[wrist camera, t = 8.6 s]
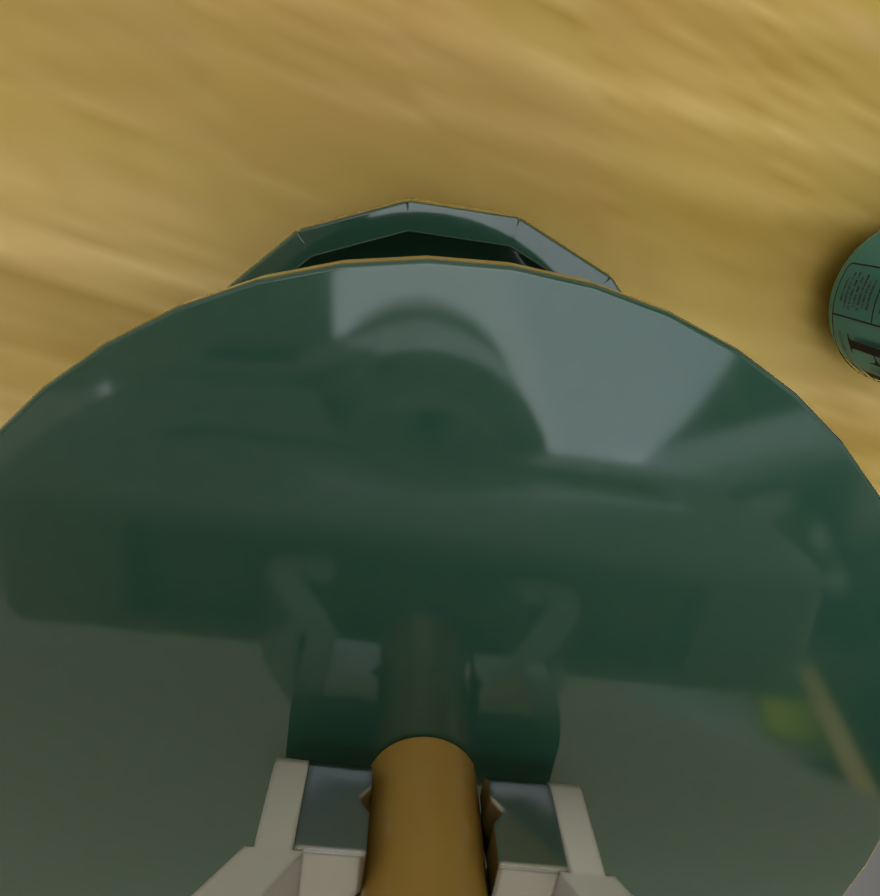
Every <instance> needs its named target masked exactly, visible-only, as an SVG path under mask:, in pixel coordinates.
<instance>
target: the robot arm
mask: <svg viewBox="0 0 880 896" xmlns="http://www.w3.org/2000/svg"><path fill="white" fill-rule="evenodd" d="M372 772H373V767H364V766H356V765H347V764H339V763H331V762H322V761H314V760H311V761H306V760H298V759H290V758H282V757H278V758H277V760H276V762H275V764H274V767H273V771H272V775H271V779H270V783H269V787H268V791H267V795H266V799H265V803H264V807H263V811H262V815H261V819H260V823H259V827H258V831H257V835H256V839H255V843H254V847H247V846H243V847H242V848H241V849H240V850H239V851H238V852H237V853H236V854H235V855H234V856H233V857H232V858H231V859H230V860H229V861H228V862H226V863H225V864H224V865H223V866H222V867H221V868H220V869H219V870H218V871H217V872H216V873H215V874H214V875H213V876H212V877H210V878H209V879H208V880H207V881H206V882H205V883H204V884H203V885H202V886H201V887H200V888H199V889H198V890H197V891H196V892H194V893H193V894H192V895H191V896H357V895H358V893H359V892H360V891H361V887H362V880H363V873H364V865H365V858H366V849H367V837H368V826H369V814H370V813H369V812H368V809H369V802H370V795H371V787H372ZM480 805H481V821H482V831H483V841H484V850H485V860H486V870H487V880H488V889H489V896H633V895H632V894H631V893H630V892H629V891H628V890H627V889H626V888H625V887H624V886H623V885H622V883H621V882H620V881H619V880H618V879H617V878H616V877H612V876H606V875H605V871H604V867H603V864H602V860H601V857H600V853H599V850H598V846H597V843H596V839H595V836H594V832H593V829H592V825H591V821H590V818H589V814H588V811H587V807H586V804H585V800H584V797H583V793H582V790H581V789H580V787H579V786H578V785H575V784H562V783H549V782H547V783H545V782H535V781H523V780H511V779H499V778H486V777H485V780H484V782H483V784H482V788H481V793H480Z"/></svg>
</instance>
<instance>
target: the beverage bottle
mask: <svg viewBox="0 0 880 896" xmlns="http://www.w3.org/2000/svg"><path fill="white" fill-rule="evenodd" d="M829 325H830V330H831V333H832V337H833V339H834V341H835V343H836V345H837V347H838V349H839V351H841V352H840V353H842V354H843V355H844V356H845V357H846V358H847V359H848V360H849V361H850V362H851V363H852V364H853V365H854V366H855V367H856V368H857V369H858V368H859V369H861V370H862V371H864V372H866V373H867V374H868V375H870V376H871V377H872V378H873V379H874V378H876V379H878V380H880V231H878V232H877V233H875V234H874V235H872V236H871V237H869V238H868V239H867V240H866V241H864V242H863V243H862V244H861V245H860V246H859V247H858V248H857V249H856V250H855V251H854V252H853V253H852V254H851V255H850V257H849V258H848V259H847V261H846V262H845V264H844V265H843V267H842V268H841V270H840V272H839V274H838V276H837V278H836V280H835V283H834V286H833V289H832V292H831V296H830V301H829ZM842 354H841V355H842ZM843 355H842V356H843ZM843 358H844V357H843ZM844 359H845V358H844ZM845 361H846V360H845ZM846 362H847V361H846ZM847 363H848V362H847ZM848 364H849V363H848ZM849 365H850V364H849ZM850 366H851V365H850ZM851 367H852V366H851ZM852 368H853V367H852ZM853 369H854V368H853ZM859 369H858V370H859ZM854 370H855V369H854ZM859 371H860V370H859ZM858 373H859V372H858ZM861 373H863V372H861ZM864 375H865V374H864ZM864 375H863V376H864ZM867 377H868V376H867ZM869 379H870V378H869ZM873 379H872V380H873ZM874 381H875V380H874ZM878 382H879V381H878Z"/></svg>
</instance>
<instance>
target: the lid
mask: <svg viewBox="0 0 880 896" xmlns="http://www.w3.org/2000/svg"><path fill="white" fill-rule="evenodd" d="M278 757H282V758H290V759H298V760H306V761H311V760H314V761H322V762H331V763H339V764H347V765H356V766H364V767H373V772H372V787H371V795H370V802H369V809H368V812H369V813H370V814H369V826H368V837H367V849H366V858H365V865H364V873H363V880H362V887H361V891H360V892H359V893H358V895H357V896H489V889H488V880H487V870H486V860H485V850H484V841H483V831H482V821H481V805H480V793H481V788H482V784H483V782H484V780H485V777H486V778H499V779H511V780H523V781H535V782H545V783H547V782H549V783H562V784H575V785H578V786H579V787H580V789H581V790H582V793H583V797H584V800H585V804H586V807H587V811H588V814H589V818H590V821H591V825H592V829H593V832H594V836H595V839H596V843H597V846H598V850H599V853H600V857H601V860H602V864H603V867H604V871H605V875H606V876H612V877H616V878H617V879H618V880H619V881H620V882H621V883H622V885H623V886H624V887H625V888H626V889H627V890H628V891H629V892H630V893H631V894H632V895H633V896H843V895H844V894H845V893H846V891H847V890H848V889H849V887H850V886H851V885H852V883H853V882H854V881H855V879H856V878H857V876H858V875H859V874H860V873H861V871H862V870H863V869H864V867H865V866H866V864H867V863H868V861H869V859H870V857H871V856H872V854H873V852H874V850H875V848H876V847H877V845H878V843H879V841H880V496H879V495H878V493H877V492H876V490H875V489H874V487H873V486H872V484H871V483H870V482H869V480H868V479H867V477H866V476H865V474H864V473H863V471H862V470H861V468H860V467H859V465H858V464H857V463H856V461H855V460H854V458H853V457H852V455H851V454H850V452H849V451H848V449H847V448H846V446H845V445H844V444H843V442H842V441H841V440H840V439H839V438H838V437H837V436H836V435H835V434H834V433H833V432H832V431H831V430H830V429H829V428H828V427H827V426H826V424H825V423H824V422H823V421H822V420H821V419H820V418H819V417H818V416H817V415H816V414H815V413H814V412H813V411H812V410H811V409H810V408H809V407H808V406H807V405H806V404H805V402H804V401H803V400H802V399H801V398H800V397H799V396H798V395H797V394H796V393H795V392H793V391H792V390H791V389H790V388H788V387H787V386H786V385H784V384H783V383H782V382H780V381H779V380H778V379H776V378H775V377H774V376H772V375H771V374H770V373H769V372H767V371H766V370H765V369H763V368H762V367H761V366H759V365H758V364H757V363H755V362H754V361H753V360H752V359H750V358H749V357H748V356H746V355H745V354H744V353H742V352H741V351H740V350H738V349H737V348H735V347H733V346H731V345H730V344H728V343H726V342H724V341H722V340H720V339H719V338H717V337H715V336H713V335H711V334H710V333H708V332H706V331H704V330H702V329H700V328H699V327H697V326H695V325H693V324H691V323H690V322H688V321H686V320H684V319H682V318H680V317H679V316H677V315H675V314H673V313H671V312H669V311H667V310H665V309H663V308H661V307H659V306H656V305H653V304H651V303H648V302H645V301H643V300H640V299H637V298H635V297H632V296H629V295H627V294H624V293H621V292H619V291H616V290H613V289H611V288H608V287H605V286H603V285H600V284H597V283H595V282H592V281H589V280H587V279H582V278H578V277H573V276H569V275H564V274H560V273H555V272H551V271H546V270H542V269H537V268H533V267H528V266H524V265H519V264H515V263H510V262H501V261H489V260H477V259H464V258H452V257H440V256H428V255H425V256H406V257H388V258H369V259H350V260H341V261H336V262H330V263H325V264H320V265H315V266H310V267H304V268H299V269H294V270H289V271H283V272H278V273H273V274H268V275H263V276H260V277H257V278H254V279H251V280H249V281H246V282H243V283H240V284H237V285H234V286H231V287H228V288H225V289H222V290H219V291H216V292H213V293H210V294H207V295H204V296H201V297H198V298H195V299H193V300H190V301H187V302H185V303H183V304H181V305H179V306H177V307H175V308H173V309H171V310H169V311H167V312H165V313H163V314H161V315H159V316H157V317H155V318H153V319H151V320H149V321H147V322H145V323H143V324H141V325H139V326H137V327H135V328H133V329H131V330H129V331H127V332H125V333H123V334H122V335H120V336H118V337H116V338H114V339H112V340H110V341H108V342H106V343H104V344H103V345H101V346H100V347H99V348H97V349H96V350H94V351H93V352H92V353H90V354H89V355H87V356H86V357H85V358H83V359H82V360H80V361H79V362H78V363H76V364H75V365H73V366H72V367H70V368H69V369H68V370H66V371H65V372H63V373H62V374H61V375H59V376H58V377H56V378H55V379H54V380H52V381H51V382H49V383H48V384H47V385H45V386H44V387H42V388H41V389H40V390H39V391H38V392H37V393H36V394H35V395H34V396H33V397H32V398H31V399H30V400H29V401H28V402H27V403H26V404H25V405H24V406H23V407H22V408H21V409H20V410H19V411H18V412H17V413H16V414H15V415H14V416H13V417H12V418H11V419H10V420H8V421H7V422H6V423H5V424H4V425H3V426H2V427H1V428H0V896H191V895H192V894H193V893H194V892H196V891H197V890H198V889H199V888H200V887H201V886H202V885H203V884H204V883H205V882H206V881H207V880H208V879H209V878H210V877H212V876H213V875H214V874H215V873H216V872H217V871H218V870H219V869H220V868H221V867H222V866H223V865H224V864H225V863H226V862H228V861H229V860H230V859H231V858H232V857H233V856H234V855H235V854H236V853H237V852H238V851H239V850H240V849H241V848H242V847H243V846H247V847H254V843H255V839H256V835H257V831H258V827H259V823H260V819H261V815H262V811H263V807H264V803H265V799H266V795H267V791H268V787H269V783H270V779H271V775H272V771H273V767H274V764H275V762H276V760H277V758H278Z"/></svg>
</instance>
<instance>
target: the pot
mask: <svg viewBox="0 0 880 896" xmlns="http://www.w3.org/2000/svg"><path fill="white" fill-rule="evenodd" d="M425 255H428V256H440V257H452V258H464V259H477V260H489V261H501V262H510V263H515V264H519V265H524V266H528V267H533V268H537V269H542V270H546V271H551V272H555V273H560V274H564V275H569V276H573V277H578V278H582V279H587V280H589V281H592V282H595V283H597V284H600V285H603V286H605V287H608V288H611V289H613V290H616V291H619V292H621V291H620V289H619V288H618V286H617V285H616V283H615V282H614V280H613V278H611V277H610V276H609V275H608V274H607V273H605V272H603V271H602V270H600V269H599V268H597V267H596V266H594V265H593V264H591V263H590V262H588V261H586V260H585V259H583V258H582V257H580V256H579V255H577V254H576V253H574V252H572V251H571V250H569V249H568V248H566V247H565V246H563V245H562V244H560V243H558V242H557V241H555V240H554V239H552V238H551V237H549V236H548V235H546V234H545V233H543V232H541V231H540V230H538V229H537V228H535V227H534V226H532V225H531V224H529V223H527V222H526V221H524V220H523V219H520V218H518V217H515V216H511V215H507V214H504V213H500V212H496V211H492V210H487V209H481V208H474V207H468V206H461V205H455V204H449V203H442V202H436V201H429V200H423V199H416V198H410V199H409V198H406V199H402V200H399V201H395V202H391V203H387V204H384V205H380V206H376V207H373V208H369V209H365V210H361V211H358V212H354V213H350V214H346V215H343V216H339V217H335V218H332V219H329V220H326V221H323V222H320V223H317V224H314V225H310V226H307V227H304V228H301V229H300V230H298V231H296V232H294V233H293V234H292V235H290V236H289V237H288V238H287V239H285V240H284V241H283V242H282V243H281V244H279V245H278V246H277V247H276V248H274V249H273V250H272V251H271V252H270V253H268V254H267V255H266V256H265V257H263V258H262V259H261V260H260V261H259V262H257V263H256V264H255V265H254V266H252V267H251V268H250V269H249V270H248V271H246V272H245V273H244V274H243V275H241V276H240V277H239V278H238V279H237V280H235V281H234V282H233V283H232V284H230V285H229V286H228V287H231V286H234V285H237V284H240V283H243V282H246V281H249V280H251V279H254V278H257V277H260V276H263V275H268V274H273V273H278V272H283V271H289V270H294V269H299V268H304V267H310V266H315V265H320V264H325V263H330V262H336V261H341V260H350V259H369V258H388V257H406V256H425ZM228 287H227V288H228ZM621 293H622V292H621Z"/></svg>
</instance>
